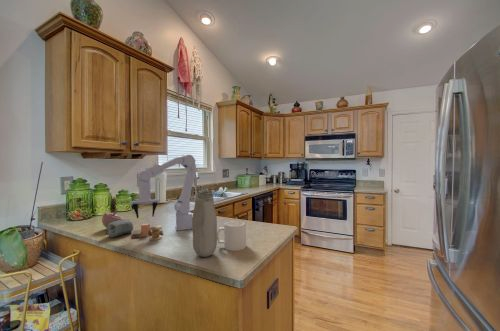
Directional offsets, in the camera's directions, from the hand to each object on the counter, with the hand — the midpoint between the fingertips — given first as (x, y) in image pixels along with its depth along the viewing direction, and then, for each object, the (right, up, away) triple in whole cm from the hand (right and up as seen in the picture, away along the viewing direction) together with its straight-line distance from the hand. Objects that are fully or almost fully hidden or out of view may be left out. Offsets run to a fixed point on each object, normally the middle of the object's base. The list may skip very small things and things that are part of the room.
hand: (145, 217), depth 129 cm
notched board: (+1, -10, +1) cm, 10 cm away
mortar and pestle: (-25, -10, +13) cm, 30 cm away
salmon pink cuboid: (0, -10, 0) cm, 10 cm away
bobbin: (+8, -10, -6) cm, 14 cm away
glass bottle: (+38, -10, -29) cm, 49 cm away
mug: (+49, -10, -19) cm, 54 cm away
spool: (-14, -10, +1) cm, 18 cm away
